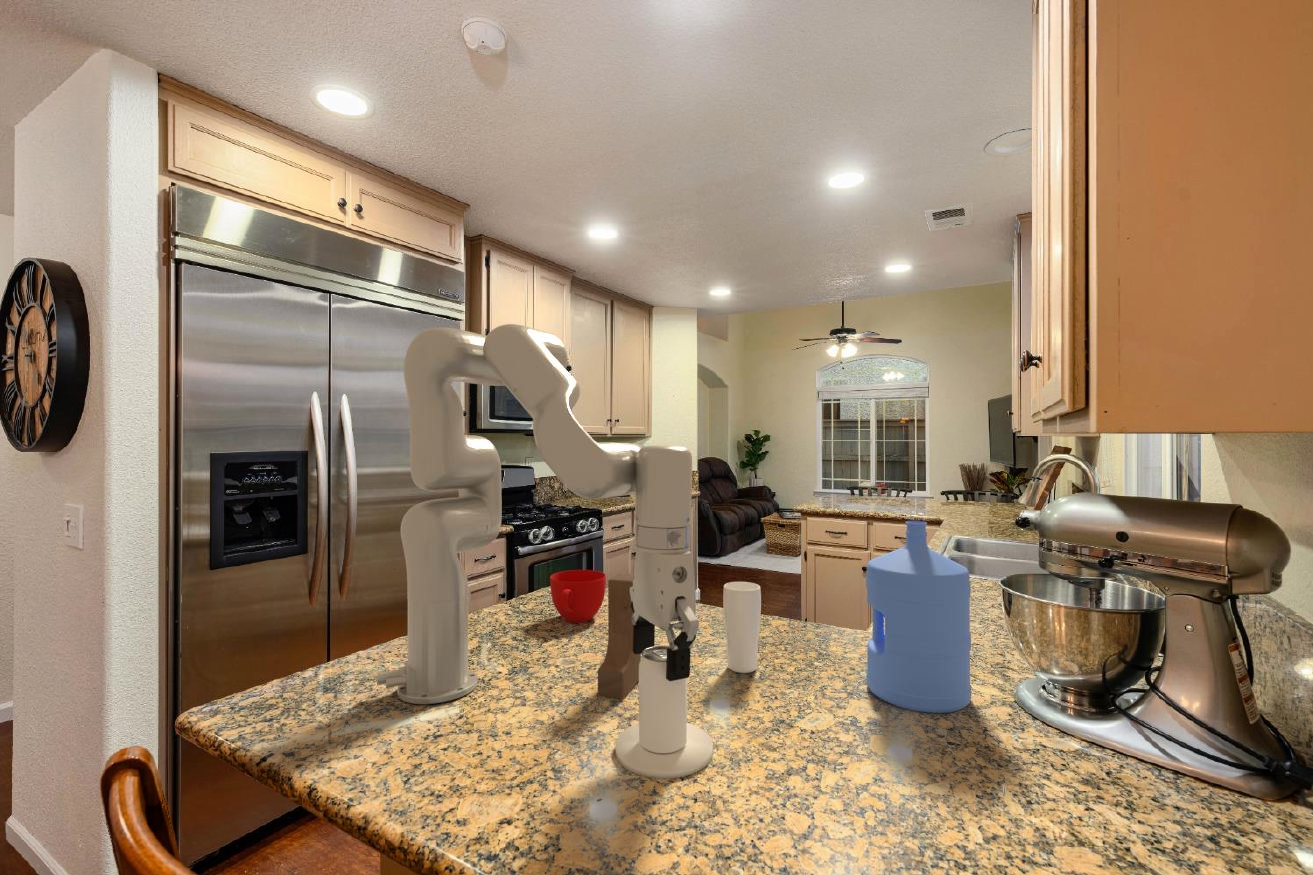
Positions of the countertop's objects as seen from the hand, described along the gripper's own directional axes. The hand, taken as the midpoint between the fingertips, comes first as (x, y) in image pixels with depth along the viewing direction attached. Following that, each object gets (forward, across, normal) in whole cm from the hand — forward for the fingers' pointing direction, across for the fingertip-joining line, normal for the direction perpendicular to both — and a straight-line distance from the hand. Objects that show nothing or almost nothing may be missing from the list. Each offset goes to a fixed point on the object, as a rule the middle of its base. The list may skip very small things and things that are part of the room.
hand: (659, 664), depth 78 cm
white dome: (+11, -1, 0) cm, 11 cm away
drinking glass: (+12, +17, -26) cm, 34 cm away
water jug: (+11, -5, -46) cm, 47 cm away
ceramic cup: (+13, +58, -10) cm, 60 cm away
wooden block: (+12, +20, -4) cm, 24 cm away
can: (+10, -1, 0) cm, 11 cm away
